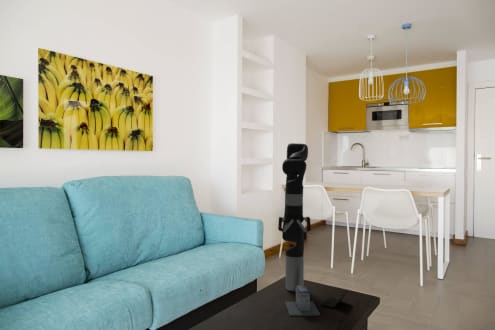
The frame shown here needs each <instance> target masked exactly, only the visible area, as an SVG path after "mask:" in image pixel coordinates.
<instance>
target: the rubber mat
mask: <svg viewBox="0 0 495 330" xmlns="http://www.w3.org/2000/svg"><path fill="white" fill-rule="evenodd" d="M284 303H285V306H286V310H287V312H288V315H289V317H310V316H311V317H312V316H313V317H314V316H316V317H317V316H318V317H319V316H321V313H320V311H319V309H318V307H317V306H316V304H315V302H314V301H310V311H300V310H299V309H298V307H297V305H296V301H285V302H284Z"/></svg>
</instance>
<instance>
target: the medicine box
mask: <svg viewBox="0 0 495 330" xmlns="http://www.w3.org/2000/svg"><path fill="white" fill-rule="evenodd" d="M310 299H311V294H310V291H309V288H308V287H307V286H306V285H299V286H296V291H295V302H296V305H297V307H298V309H299V310H300V311H310V302H311V300H310Z"/></svg>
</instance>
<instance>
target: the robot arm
mask: <svg viewBox="0 0 495 330" xmlns="http://www.w3.org/2000/svg"><path fill="white" fill-rule="evenodd" d="M308 156H309V147H308V145H307V144H305V143H291V142H290V143H288V144H287V147H286V159H284V160H283V162H282V164H281V165H282V168H281V169H282V172H283V174H284V175H286V178H285V189H284V191H285V196H284V198H285V199H284V213H283V214H284V215H283V217H282V216H279V217H278V224H277V225H278V226H277V227H278V228H277V230H278V231H279V232H281V233H282V234H281V237H282V239H283V241H284V242H292V243H295V245H294V246H291V247H287V248H286V249H285V255H284V256H285V289H286V290H287V291H290V292H296V286H299V285H304V284H305V283H304V282H305V281H304V280H305V279H304V278H305V277H304V273H305V272H304V270H305V269H304V262H305V259H304V251H305V241H306V240H307V232H310V231H311V229H312V227H311V218H310V216H304V199H303V198H304V184H303V183H304V182H303V181H304V178H305V174H306V170H307V162H306V161H307V159H308ZM304 221H305V222H306V227H305V225H304V224H303V222H304ZM304 286H305V285H304Z"/></svg>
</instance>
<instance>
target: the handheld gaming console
mask: <svg viewBox="0 0 495 330" xmlns="http://www.w3.org/2000/svg"><path fill="white" fill-rule="evenodd" d="M347 293H348V291H347V290H346V291H345V292H344V293H343V294H342V295H341V297H339V298H334V297H327V298H326V299H325V300H324V301H323V303H322V304H321V307H322V308H325V309H326V308H327V309H332V310H335V309H336V307H338V305H339V303H340V302H341V301H342V300H343V299H344V297H345V296H346V294H347Z"/></svg>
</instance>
